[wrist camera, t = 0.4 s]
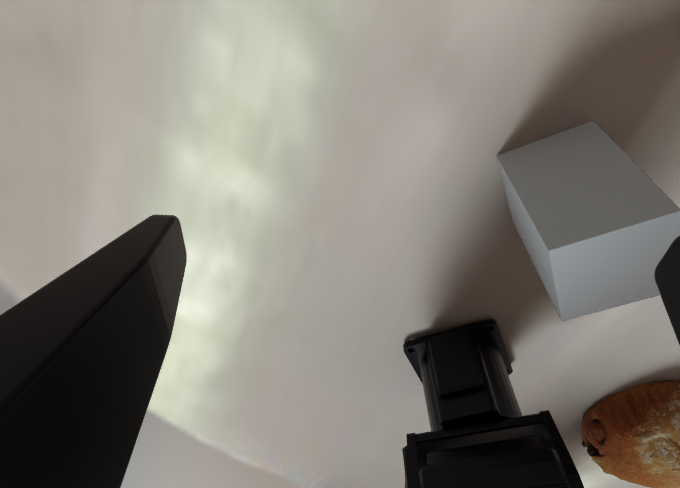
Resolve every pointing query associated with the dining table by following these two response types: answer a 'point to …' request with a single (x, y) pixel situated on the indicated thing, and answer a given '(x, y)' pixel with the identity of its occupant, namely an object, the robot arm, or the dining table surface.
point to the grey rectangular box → (588, 219)
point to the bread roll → (637, 434)
